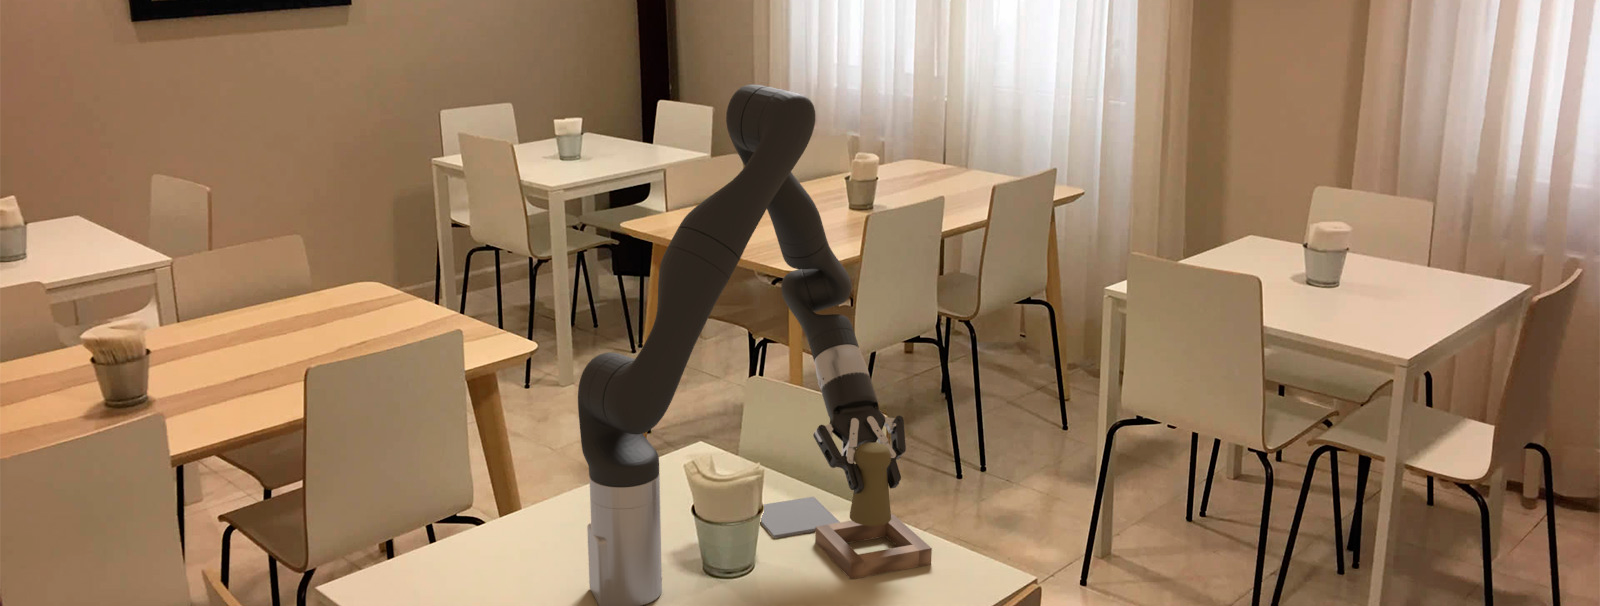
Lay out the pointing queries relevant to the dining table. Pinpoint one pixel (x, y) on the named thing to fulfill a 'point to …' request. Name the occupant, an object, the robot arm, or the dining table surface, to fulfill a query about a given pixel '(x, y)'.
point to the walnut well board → (877, 562)
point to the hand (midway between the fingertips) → (877, 488)
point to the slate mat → (795, 517)
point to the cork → (872, 485)
